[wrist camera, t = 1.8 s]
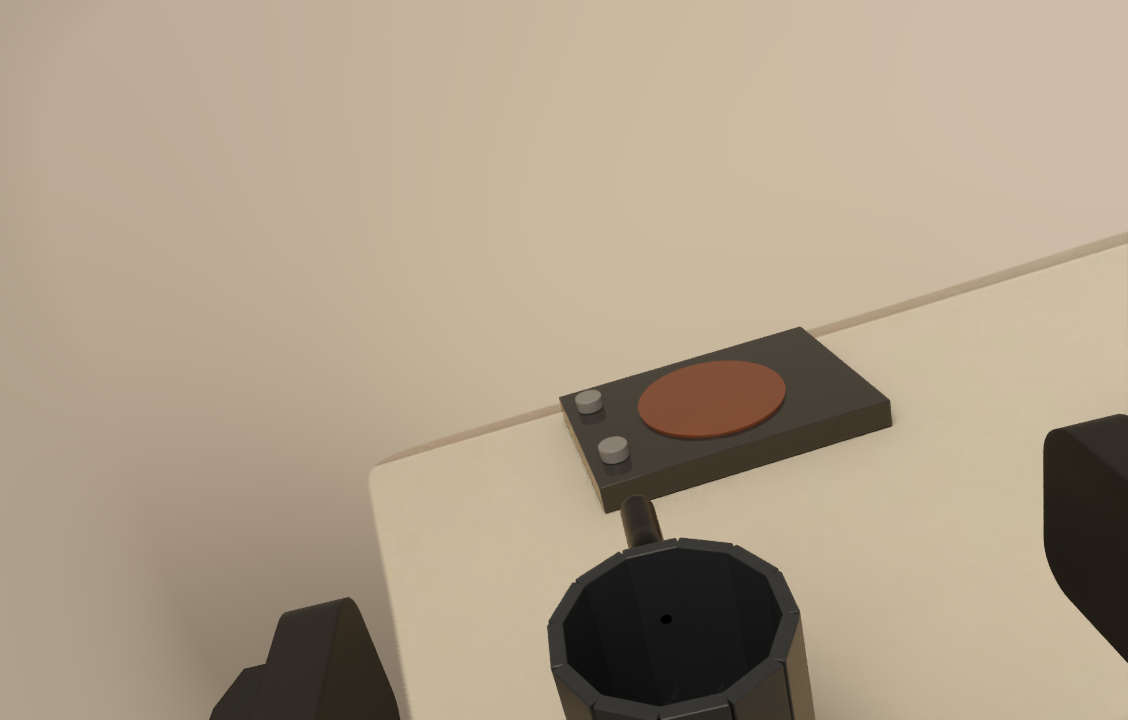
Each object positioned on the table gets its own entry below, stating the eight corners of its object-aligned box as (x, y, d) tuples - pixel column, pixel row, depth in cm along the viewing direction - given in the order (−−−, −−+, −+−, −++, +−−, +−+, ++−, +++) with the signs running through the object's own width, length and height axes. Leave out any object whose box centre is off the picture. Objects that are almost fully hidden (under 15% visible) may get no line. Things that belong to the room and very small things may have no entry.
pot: (864, 928, 24) (833, 681, 20) (631, 980, 24) (557, 744, 20) (746, 620, 35) (711, 422, 31) (586, 657, 35) (532, 464, 31)
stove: (605, 513, 47) (595, 475, 46) (564, 418, 56) (555, 385, 55) (892, 425, 48) (889, 386, 47) (803, 348, 58) (799, 314, 57)
